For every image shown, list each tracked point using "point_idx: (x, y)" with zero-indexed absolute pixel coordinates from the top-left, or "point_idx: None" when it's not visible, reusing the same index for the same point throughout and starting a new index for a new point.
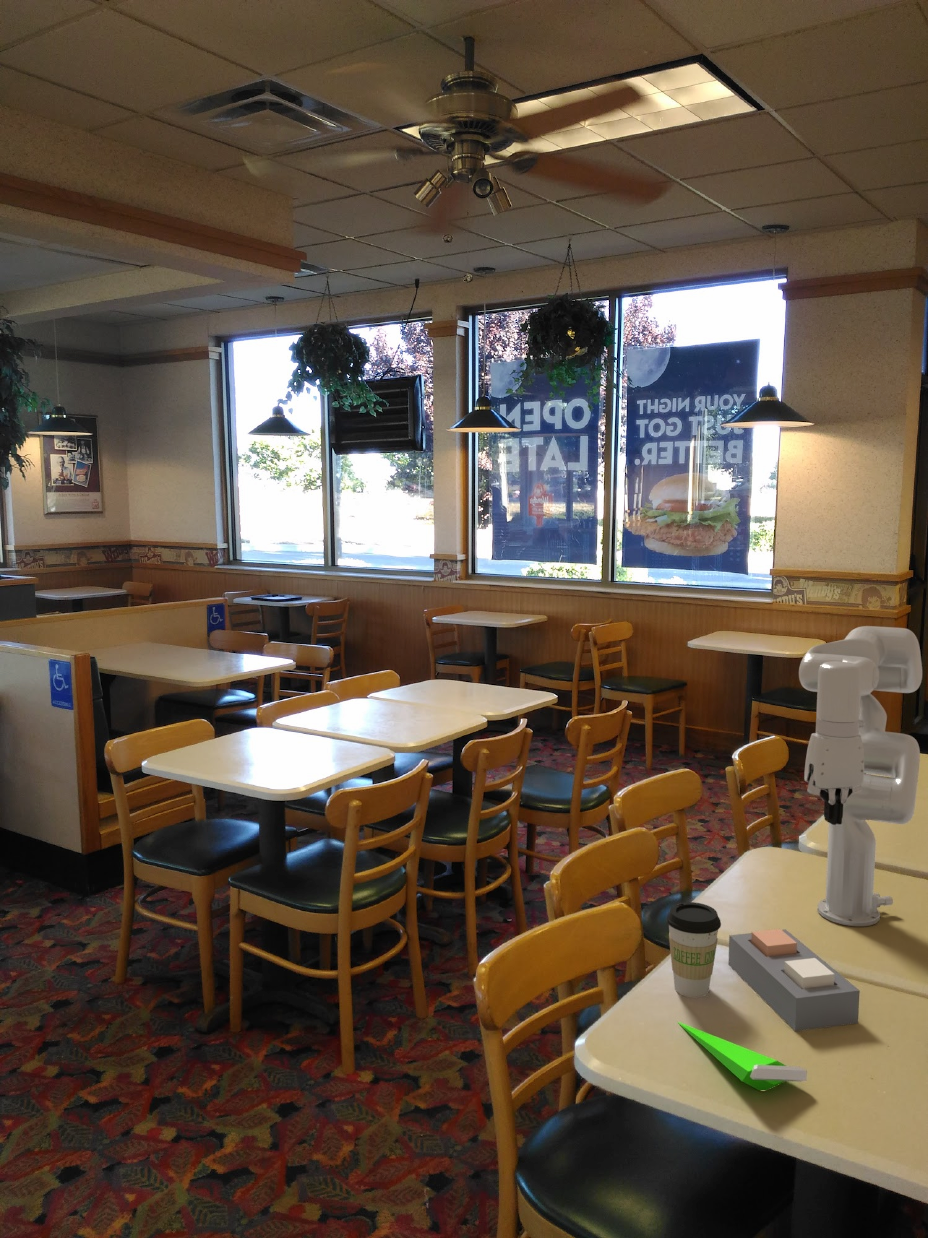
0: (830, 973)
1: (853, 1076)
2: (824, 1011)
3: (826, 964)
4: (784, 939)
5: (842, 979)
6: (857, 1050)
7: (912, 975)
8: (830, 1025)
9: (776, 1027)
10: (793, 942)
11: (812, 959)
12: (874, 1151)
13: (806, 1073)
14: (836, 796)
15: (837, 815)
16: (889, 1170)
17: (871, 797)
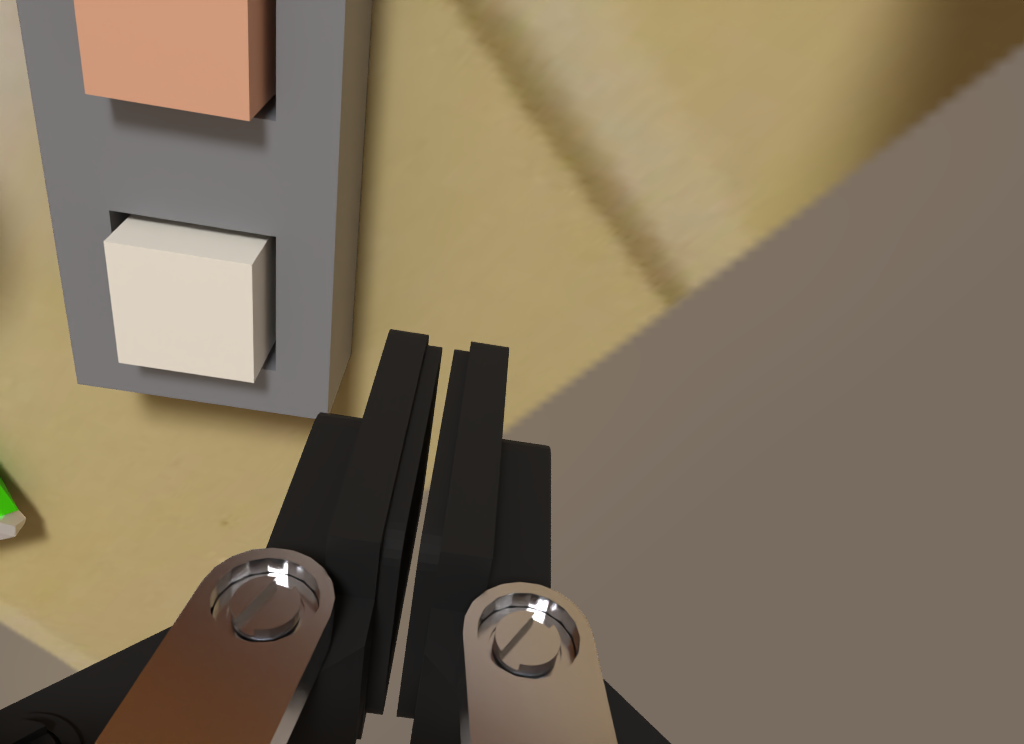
0: (240, 376)
1: (184, 505)
2: None
3: (327, 245)
4: (205, 65)
5: (315, 351)
6: (261, 441)
7: (786, 197)
8: None
9: None
10: (234, 110)
11: (233, 271)
12: (93, 651)
13: (16, 533)
14: (459, 729)
15: (405, 591)
16: None
17: None
